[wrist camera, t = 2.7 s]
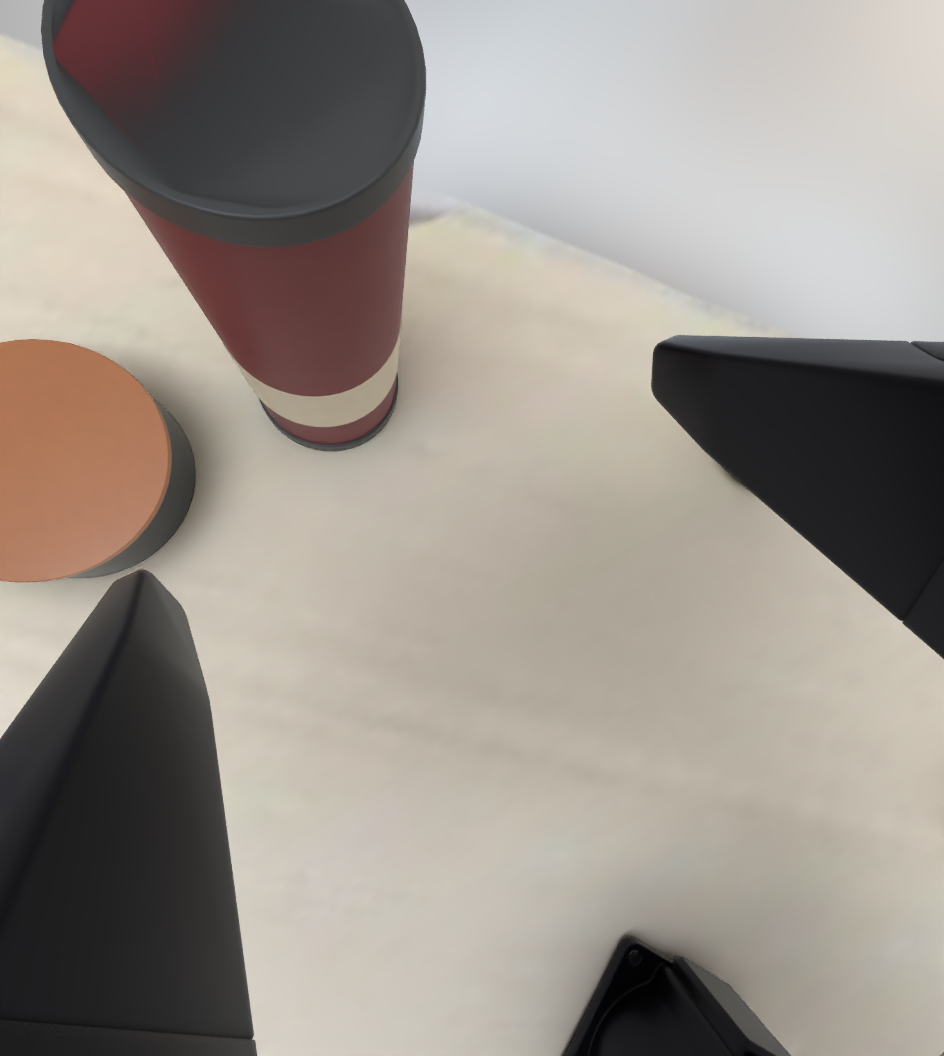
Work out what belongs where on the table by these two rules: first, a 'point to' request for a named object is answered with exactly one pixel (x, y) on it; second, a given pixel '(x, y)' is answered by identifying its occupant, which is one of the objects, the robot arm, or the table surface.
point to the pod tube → (265, 178)
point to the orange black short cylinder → (83, 465)
